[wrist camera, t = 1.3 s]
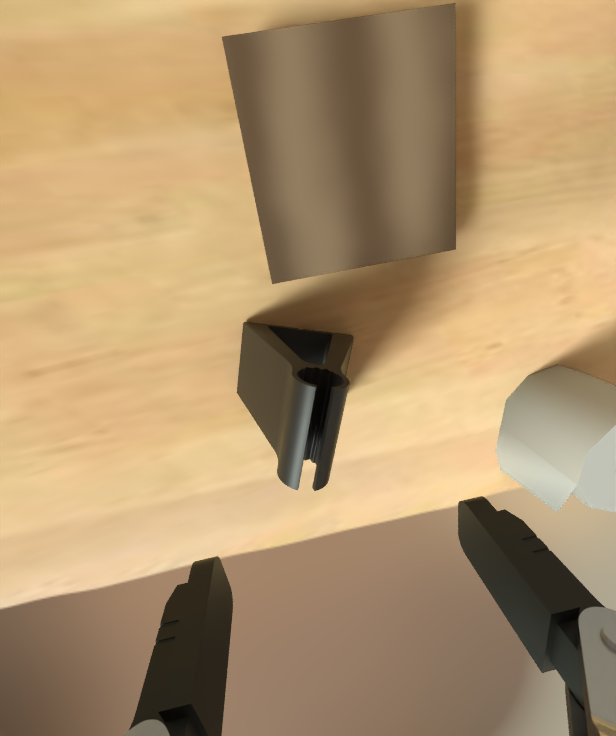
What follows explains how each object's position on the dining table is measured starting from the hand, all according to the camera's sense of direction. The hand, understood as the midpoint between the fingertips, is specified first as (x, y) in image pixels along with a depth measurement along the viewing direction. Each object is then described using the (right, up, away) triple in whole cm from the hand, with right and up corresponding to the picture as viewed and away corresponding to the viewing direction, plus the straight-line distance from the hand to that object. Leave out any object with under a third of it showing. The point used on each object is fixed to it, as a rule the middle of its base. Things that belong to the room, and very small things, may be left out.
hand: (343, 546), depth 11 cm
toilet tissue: (+22, +1, +22) cm, 31 cm away
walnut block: (+1, +20, +12) cm, 23 cm away
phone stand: (-2, +6, +17) cm, 18 cm away
